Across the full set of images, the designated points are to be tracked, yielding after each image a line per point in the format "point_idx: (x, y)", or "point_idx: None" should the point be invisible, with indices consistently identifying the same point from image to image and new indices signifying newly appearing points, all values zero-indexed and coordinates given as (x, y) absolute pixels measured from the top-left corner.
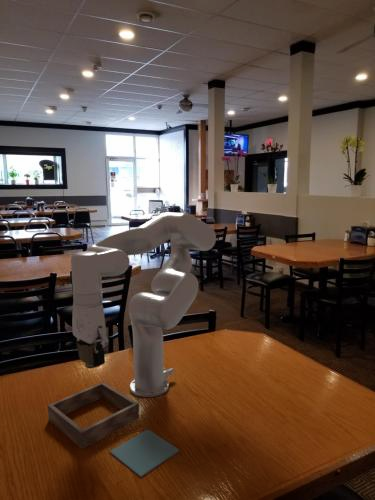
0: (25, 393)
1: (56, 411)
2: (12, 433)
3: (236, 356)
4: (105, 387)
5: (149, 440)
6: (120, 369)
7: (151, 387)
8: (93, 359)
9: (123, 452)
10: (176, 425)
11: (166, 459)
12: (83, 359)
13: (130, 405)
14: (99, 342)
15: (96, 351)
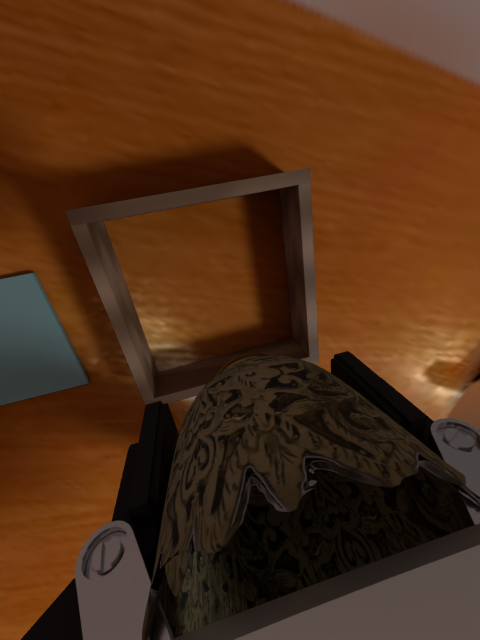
0: (464, 162)
1: (250, 181)
2: (293, 36)
3: None
4: None
5: (36, 372)
6: None
7: None
8: (151, 441)
9: (9, 301)
10: (78, 436)
11: None
12: (225, 375)
13: (149, 388)
14: (322, 555)
15: (82, 560)
